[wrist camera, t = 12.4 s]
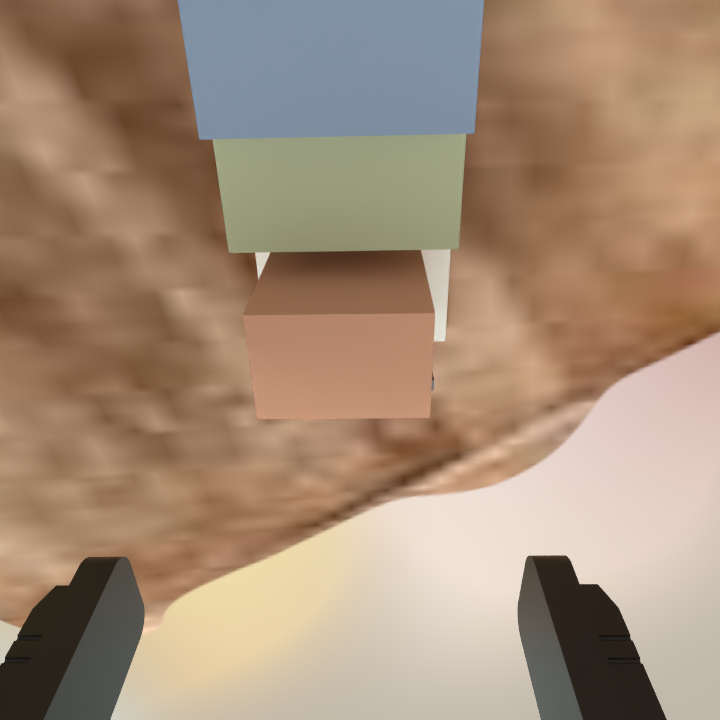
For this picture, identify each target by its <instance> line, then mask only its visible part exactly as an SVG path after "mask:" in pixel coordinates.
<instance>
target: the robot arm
mask: <svg viewBox="0 0 720 720" xmlns="http://www.w3.org/2000/svg"><path fill="white" fill-rule="evenodd" d="M143 625H144V604H143V601H142V598H141V595H140V592H139V589H138V586H137V582H136V579H135V576H134V573H133V570H132V567H131V564H130V562H129V560H128V558H126V557H88V558H86V559H85V560H83V562H82V563H81V564H80V566H79V568H78V570H77V571H76V573H75V575H74V577H73V579H72V581H71V583H70V585H69V586H55V587H54V588H53V589H52V590H51V591H50V592H49V593H48V594H47V595H46V596H45V597H44V598H43V599H42V600H41V601H40V602H39V603H38V604H37V605H36V606H35V607H34V608H33V609H32V611H31V613H30V614H29V616H28V618H27V620H26V621H25V623H24V625H23V627H22V628H21V631H20V632H19V634H18V639H17V640H16V641H14V642H13V644H12V646H11V648H10V649H9V651H8V653H7V655H6V657H5V662H4V663H2V664H1V665H0V720H110V719H111V716H112V713H113V711H114V708H115V705H116V702H117V700H118V697H119V694H120V692H121V688H122V686H123V683H124V681H125V678H126V675H127V673H128V670H129V667H130V665H131V662H132V659H133V657H134V654H135V651H136V648H137V646H138V643H139V640H140V637H141V634H142V630H143ZM518 625H519V631H520V636H521V641H522V645H523V649H524V653H525V657H526V661H527V665H528V669H529V673H530V677H531V681H532V685H533V689H534V693H535V697H536V701H537V705H538V709H539V713H540V717H541V720H667V719H666V717H665V715H664V712H663V710H662V708H661V705H660V703H659V701H658V699H657V696H656V694H655V692H654V689H653V687H652V685H651V682H650V680H649V678H648V675H647V673H646V671H645V668H644V666H643V664H641V662H640V657H639V654H638V652H637V650H636V647H635V645H634V643H633V641H631V639H630V633H629V631H628V629H627V626H626V624H625V622H624V619H623V617H622V615H621V612H620V610H619V608H618V607H617V606H616V604H615V603H614V602H613V601H612V600H611V599H610V598H609V597H608V595H607V594H606V593H605V592H604V591H603V590H602V589H601V588H600V587H599V585H597V584H579V582H578V579H577V577H576V574H575V571H574V568H573V566H572V564H571V561H570V559H569V558H568V557H567V556H528V557H527V559H526V563H525V568H524V573H523V579H522V585H521V590H520V596H519V601H518Z"/></svg>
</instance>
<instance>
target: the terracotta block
mask: <svg viewBox="0 0 720 720" xmlns="http://www.w3.org/2000/svg"><path fill="white" fill-rule="evenodd" d="M243 319H244V326H245V334H246V341H247V349H248V356H249V363H250V371H251V378H252V386H253V393H254V400H255V408H256V415H257V419H342V418H430V405H431V386H432V367H433V348H434V329H435V310H434V305H433V301H432V297H431V292H430V288H429V283H428V279H427V275H426V270H425V266H424V261H423V257H422V253H421V250H380V251H320V252H270V255H269V257H268V259H267V261H266V264H265V266H264V268H263V271H262V273H261V275H260V277H259V280H258V282H257V284H256V287H255V289H254V291H253V294H252V296H251V298H250V300H249V303H248V305H247V307H246V310H245V312H244V314H243Z"/></svg>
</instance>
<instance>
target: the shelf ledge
mask: <svg viewBox="0 0 720 720" xmlns="http://www.w3.org/2000/svg"><path fill="white" fill-rule="evenodd" d="M178 5H179V12H180V18H181V25H182V31H183V38H184V44H185V50H186V57H187V63H188V70H189V76H190V83H191V89H192V96H193V102H194V109H195V115H196V122H197V128H198V134H199V140H202V139H213V145H214V152H215V159H216V166H217V173H218V180H219V187H220V194H221V201H222V208H223V215H224V222H225V229H226V236H227V243H228V250H229V253H255V255H256V263H257V271H258V280H259V277H260V275H261V273H262V271H263V268H264V266H265V264H266V261H267V259H268V257H269V255H270V252H320V251H380V250H421V253H422V257H423V261H424V266H425V270H426V275H427V279H428V283H429V288H430V292H431V297H432V301H433V305H434V310H435V329H434V341H445V336H446V319H447V302H448V285H449V269H450V252H451V249H459V235H460V220H461V205H462V190H463V175H464V160H465V145H466V134H474V132H475V119H476V105H477V91H478V78H479V64H480V51H481V37H482V23H483V10H484V0H178ZM433 389H434V378H433V372H432V386H431V390H433Z"/></svg>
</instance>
